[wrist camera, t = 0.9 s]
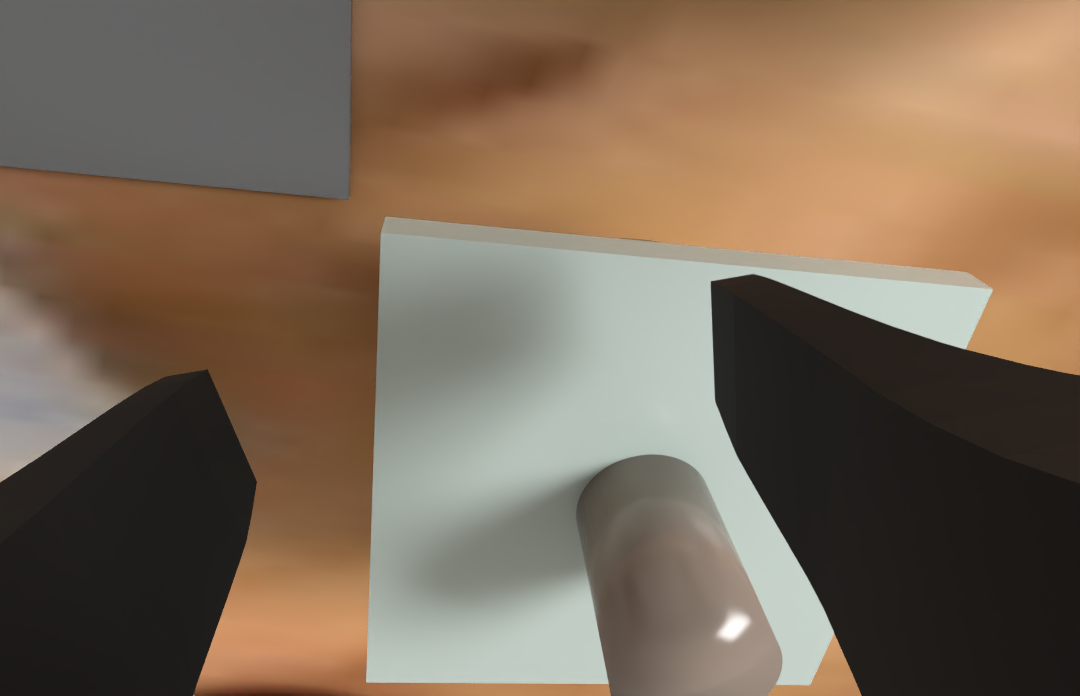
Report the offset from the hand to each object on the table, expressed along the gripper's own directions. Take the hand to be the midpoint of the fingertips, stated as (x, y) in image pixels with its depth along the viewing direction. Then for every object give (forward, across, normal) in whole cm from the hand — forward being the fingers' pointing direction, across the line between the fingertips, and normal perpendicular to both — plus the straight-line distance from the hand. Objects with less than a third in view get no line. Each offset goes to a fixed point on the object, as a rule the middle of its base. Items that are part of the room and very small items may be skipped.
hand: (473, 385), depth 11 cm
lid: (+3, -3, +5) cm, 7 cm away
